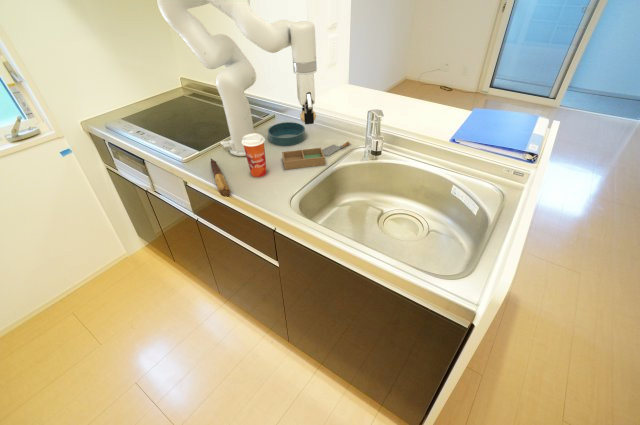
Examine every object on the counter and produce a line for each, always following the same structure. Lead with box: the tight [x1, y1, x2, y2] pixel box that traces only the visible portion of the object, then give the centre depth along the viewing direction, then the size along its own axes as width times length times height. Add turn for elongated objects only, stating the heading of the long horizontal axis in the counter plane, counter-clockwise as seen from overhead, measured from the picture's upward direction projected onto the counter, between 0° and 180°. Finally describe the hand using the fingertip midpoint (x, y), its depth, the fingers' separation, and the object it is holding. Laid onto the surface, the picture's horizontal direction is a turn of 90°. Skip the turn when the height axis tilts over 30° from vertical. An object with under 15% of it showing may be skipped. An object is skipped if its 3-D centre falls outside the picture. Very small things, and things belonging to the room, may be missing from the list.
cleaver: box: [322, 141, 350, 157], centre depth 128 cm, size 13×1×5 cm
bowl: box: [267, 121, 307, 147], centre depth 136 cm, size 16×16×4 cm
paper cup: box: [242, 132, 267, 178], centre depth 110 cm, size 8×8×14 cm
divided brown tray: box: [281, 147, 326, 171], centre depth 119 cm, size 15×8×3 cm, turn 100°
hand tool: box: [210, 158, 231, 198], centre depth 111 cm, size 4×26×3 cm, turn 25°
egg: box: [299, 110, 317, 123], centre depth 112 cm, size 6×4×4 cm
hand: (308, 120), depth 113 cm, fingers closed on egg, 4 cm apart
